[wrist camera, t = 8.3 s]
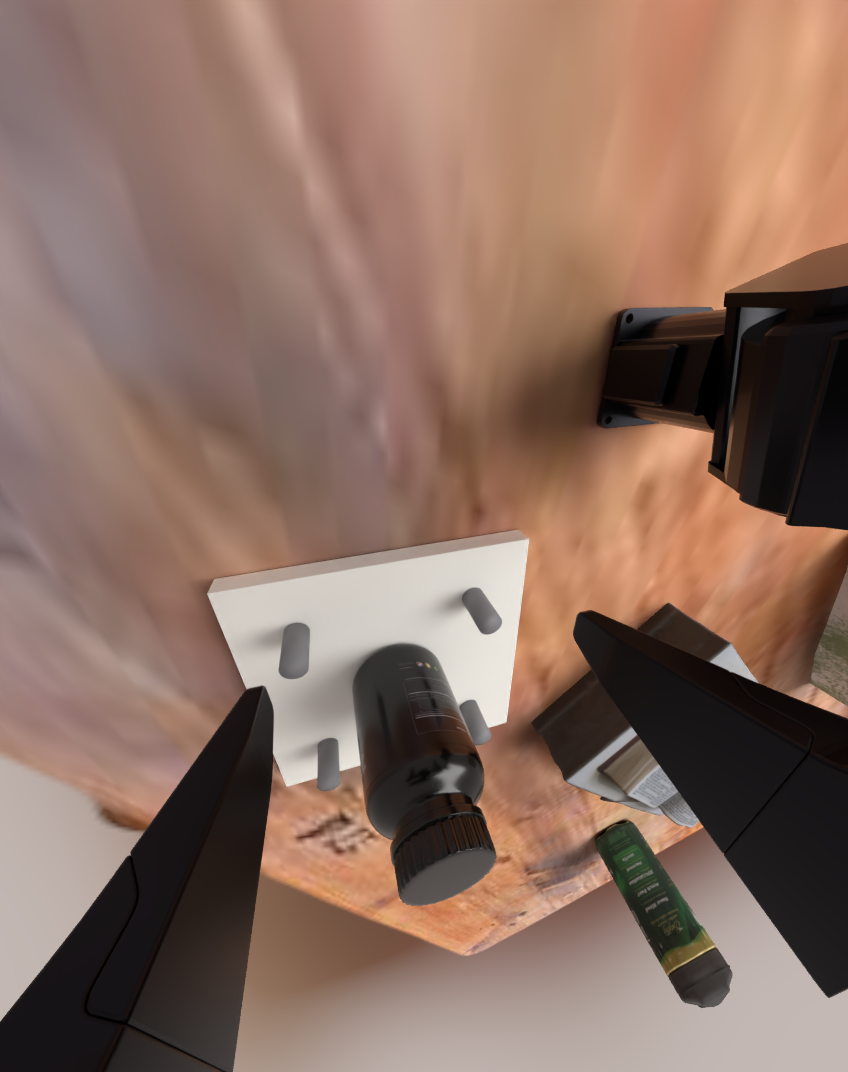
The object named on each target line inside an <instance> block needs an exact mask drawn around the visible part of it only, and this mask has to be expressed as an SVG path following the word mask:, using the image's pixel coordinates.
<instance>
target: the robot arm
mask: <svg viewBox="0 0 848 1072" xmlns="http://www.w3.org/2000/svg"><path fill="white" fill-rule="evenodd" d="M724 307H726V309H724V310H715V311H714V310H713V309H712V308H711V307H679V308H629V309H624V310H622V311H621V312H620V313H619V315H618V317H617V321H616V326H615V331H614V337H613V342H612V347H611V352H610V357H609V362H608V367H607V372H606V378H605V383H604V388H603V393H602V398H601V403H600V408H599V414H598V419H597V424H598V426H599V427H602V428H615V427H625V426H635V425H645V424H655V423H664V424H669V425H674V426H679V427H684V428H690V429H695V430H700V431H705V432H710V433H714V436H713V446H712V456H711V461H709V464H708V472H709V473H711V474H712V475H714V476H715V477H717V478H718V479H720V480H721V481H722V482H724V483H725V484H727V485H728V486H730V487H731V488H733V489H734V490H735V491H736V492H738V493H739V494H740V496H739V500H741V501H742V502H744V503H746V504H748V505H751V506H753V507H755V508H758V509H760V510H764V511H768V512H771V513H774V514H777V515H780V516H784V517H786V521H785V523H786V524H787V525H790V526H809V527H827V528H834V529H842V530H848V243H846V244H843V245H839V246H835V247H831V248H827V249H823V250H820V251H816V252H814V253H811V254H809V255H807V256H805V257H802V258H800V259H798V260H796V261H793V262H791V263H789V264H787V265H785V266H782V267H780V268H778V269H776V270H773V271H771V272H769V273H767V274H765V275H762V276H760V277H758V278H756V279H753V280H751V281H749V282H747V283H744V284H742V285H740V286H738V287H736V288H733V289H731V290H729V291H727V292H725V298H724ZM627 316H628V320H627V322H626V317H627ZM606 418H607V421H606V422H605V419H606ZM573 636H574V639H575V641H576V643H577V645H578V646H579V648H580V650H581V651H582V653H583V655H584V657H585V658H586V660H587V662H588V663H589V665H590V667H591V668H592V670H593V672H594V674H595V675H596V677H597V679H598V680H599V682H600V683H601V685H602V686H603V688H604V689H605V691H606V692H607V694H608V695H609V696H610V698H611V699H612V701H613V702H614V703H615V705H616V706H617V708H618V709H619V710H620V712H621V713H622V714H623V716H624V717H625V719H626V720H627V721H628V723H629V724H630V726H631V727H632V728H633V730H634V731H635V732H636V734H637V735H638V737H639V738H640V739H641V741H642V742H643V744H644V745H645V746H646V748H647V749H648V750H649V752H650V753H651V755H652V756H653V757H654V759H655V760H656V762H657V763H658V764H659V766H660V767H661V768H662V770H663V771H664V773H665V774H666V775H667V777H668V778H669V780H670V781H671V782H672V784H673V785H674V787H675V788H676V789H677V791H678V792H679V793H680V795H681V796H682V798H683V799H684V800H685V802H686V803H687V805H688V806H689V807H690V809H691V810H692V811H693V813H694V814H695V816H696V817H697V818H698V820H699V821H700V823H701V824H702V825H703V827H704V828H705V829H706V830H707V832H708V834H709V835H710V836H711V838H712V839H713V840H714V842H715V843H716V845H717V846H718V848H719V849H720V850H721V852H722V853H724V856H725V858H726V859H727V860H728V861H729V863H730V864H731V866H732V867H733V868H734V870H735V871H736V873H737V874H738V876H739V877H740V878H741V880H742V881H743V882H744V884H745V885H746V887H747V888H748V889H749V891H750V892H751V894H752V895H753V896H754V897H755V899H756V900H757V902H758V903H759V905H760V906H761V907H762V909H763V910H764V911H765V913H766V914H767V916H768V917H769V919H770V920H771V921H772V923H773V924H774V925H775V927H776V928H777V929H778V931H779V932H780V934H781V935H782V936H783V938H784V939H785V941H786V942H787V943H788V945H789V946H790V947H791V949H792V950H793V952H794V953H795V955H796V956H797V957H798V959H799V960H800V961H801V963H802V964H803V966H804V967H805V968H806V970H807V971H808V973H809V974H810V975H811V977H812V978H813V980H814V981H815V982H816V983H817V985H818V986H819V987H820V988H821V990H822V991H823V992H824V993H825V995H826V996H827V997H828V998H830V997H832V996H835V995H837V994H839V993H841V992H843V991H845V990H847V989H848V719H847V718H845V717H842V716H840V715H837V714H834V713H832V712H829V711H827V710H824V709H821V708H819V707H816V706H814V705H811V704H808V703H806V702H803V701H801V700H798V699H796V698H793V697H791V696H788V695H786V694H783V693H781V692H778V691H775V690H773V689H771V688H768V687H766V686H764V685H761V684H759V683H757V682H754V681H752V680H750V679H747V678H745V677H743V676H741V675H738V674H736V673H734V672H729V670H727V669H725V668H722V667H720V666H718V665H715V664H713V663H711V662H709V661H706V660H704V659H702V658H700V657H697V656H695V655H693V654H690V653H688V652H686V651H684V650H681V649H679V648H677V647H675V646H672V645H670V644H668V643H665V642H663V641H661V640H659V639H656V638H654V637H652V636H650V635H647V634H645V633H643V632H641V631H638V630H636V629H634V628H631V627H629V626H627V625H625V624H622V623H620V622H618V621H616V620H613V619H611V618H609V617H606V616H604V615H602V614H600V613H597V612H595V611H592V610H588V611H583V612H580V613H578V615H577V617H576V622H575V626H574V631H573ZM273 732H274V709H273V705H272V702H271V700H270V697H269V694H268V691H267V689H266V687H265V686H263V685H261V686H256V687H252V688H248V689H247V690H246V691H245V692H244V693H243V694H242V696H241V697H240V699H239V700H238V701H237V703H236V704H235V706H234V707H233V708H232V710H231V711H230V713H229V714H228V715H227V717H226V718H225V720H224V721H223V722H222V724H221V725H220V727H219V728H218V730H217V731H216V732H215V734H214V735H213V737H212V738H211V739H210V741H209V742H208V744H207V745H206V746H205V748H204V749H203V751H202V752H201V753H200V755H199V756H198V758H197V759H196V760H195V762H194V763H193V765H192V766H191V767H190V769H189V770H188V772H187V773H186V774H185V776H184V777H183V779H182V780H181V781H180V783H179V784H178V786H177V787H176V788H175V790H174V791H173V793H172V794H171V795H170V797H169V798H168V800H167V801H166V803H165V804H164V805H163V807H162V808H161V810H160V811H159V812H158V814H157V815H156V817H155V818H154V819H153V821H152V822H151V824H150V825H149V826H148V828H147V829H146V831H145V832H144V833H143V835H142V836H141V838H140V839H139V840H138V842H137V843H136V845H135V846H134V847H133V849H132V851H131V856H127V857H126V858H125V860H124V861H123V863H122V864H121V865H120V867H119V868H118V870H117V871H116V872H115V874H114V876H113V877H112V878H111V879H110V881H109V882H108V884H107V885H106V886H105V888H104V889H103V890H102V892H101V893H100V894H99V896H98V897H97V899H96V900H95V901H94V903H93V904H92V906H91V907H90V908H89V910H88V911H87V912H86V913H85V915H84V916H83V918H82V919H81V920H80V922H79V923H78V924H77V925H76V927H75V928H74V929H73V931H72V932H71V933H70V934H69V936H68V937H67V938H66V940H65V941H64V942H63V944H62V945H61V946H60V947H59V949H58V950H57V951H56V952H55V954H54V955H53V956H52V957H51V959H50V960H49V961H48V963H47V964H46V965H45V966H44V968H43V969H42V970H41V971H40V973H39V974H38V975H37V977H36V978H35V979H34V980H33V981H32V983H31V984H30V985H29V986H28V988H27V989H26V990H25V991H24V993H23V994H22V995H21V996H20V998H19V999H18V1000H17V1002H16V1003H15V1004H14V1005H13V1006H12V1008H11V1009H10V1010H9V1011H8V1013H7V1014H6V1015H5V1016H4V1018H3V1019H2V1020H1V1021H0V1072H233V1066H234V1059H235V1051H236V1044H237V1037H238V1030H239V1022H240V1015H241V1007H242V1000H243V992H244V985H245V977H246V971H247V963H248V956H249V948H250V941H251V934H252V925H253V919H254V911H255V904H256V896H257V889H258V882H259V875H260V867H261V860H262V852H263V845H264V838H265V830H266V823H267V816H268V808H269V801H270V793H271V785H272V770H273Z"/></svg>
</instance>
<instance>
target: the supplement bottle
mask: <svg viewBox="0 0 848 1072" xmlns="http://www.w3.org/2000/svg"><path fill="white" fill-rule="evenodd" d="M352 693H353V704H354V713H355V722H356V731H357V739H358V748H359V757H360V765H361V774H362V783H363V791H364V800H365V806H366V812H367V816H368V819H369V821H370V823H371V824H372V826H373V827H374V828H375V830H376V831H377V832H378V833H380V834H381V835H382V836H384V837H386V838H388V839H390V840H393V841H392V843H391V847H390V852H391V860H392V864H393V865H394V867H395V873H396V880H397V886H398V892H399V896H400V899H401V900H402V902H403V903H406V905H411V906H416V905H417V906H422V905H429V904H433V903H437V902H440V901H444V900H446V899H448V898H451V897H453V896H455V895H457V894H459V893H461V892H463V891H465V890H466V889H468V888H470V887H471V886H473V885H474V884H476V883H477V882H478V881H479V880H481V879H482V878H484V876H485V875H486V874H487V873H489V871H490V869H491V868H492V867H493V865H494V863H495V862H496V861H495V860H496V858H497V857H496V852H495V848H494V845H493V842H492V840H491V837H490V834H489V831H488V829H487V826H486V820H485V817H484V815H483V812H482V810H481V809H480V808H479V807H478V806H476V805H477V803H478V801H479V799H480V797H481V795H482V792H483V787H484V768H483V765H482V762H481V759H480V757H479V754H478V752H477V749H476V747H475V745H474V742H473V740H472V737H471V735H470V733H469V730H468V728H467V725H466V723H465V721H464V718H463V716H462V713H461V711H460V709H459V706H458V704H457V701H456V699H455V697H454V694H453V692H452V690H451V687H450V685H449V682H448V680H447V678H446V675H445V673H444V671H443V668H442V666H441V664H440V662H439V660H438V658H437V657H436V656H435V655H434V654H433V653H432V652H431V651H430V650H428V649H426V648H424V647H421V646H418V645H413V644H401V645H395V646H391V647H388V648H385V649H383V650H381V651H379V652H377V653H375V654H374V655H372V656H371V657H369V658H368V659H367V660H366V661H365V662H364V663H363V664H362V665H361V667H360V668H359V670H358V671H357V673H356V675H355V677H354V680H353V686H352Z"/></svg>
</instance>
